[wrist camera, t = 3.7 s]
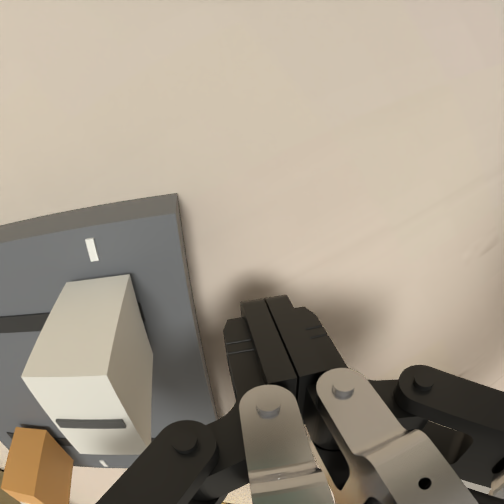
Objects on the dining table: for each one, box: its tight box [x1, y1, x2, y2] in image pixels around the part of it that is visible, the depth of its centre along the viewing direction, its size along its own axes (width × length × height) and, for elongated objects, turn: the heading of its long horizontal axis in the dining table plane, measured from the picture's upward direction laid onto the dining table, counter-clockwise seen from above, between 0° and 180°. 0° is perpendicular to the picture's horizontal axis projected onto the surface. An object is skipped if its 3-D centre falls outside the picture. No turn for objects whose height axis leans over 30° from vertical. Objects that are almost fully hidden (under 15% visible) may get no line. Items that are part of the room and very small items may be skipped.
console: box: [0, 193, 218, 468], centre depth 13 cm, size 16×16×3 cm
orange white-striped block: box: [1, 427, 74, 504], centre depth 11 cm, size 2×4×5 cm, turn 3°
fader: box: [21, 274, 153, 455], centre depth 8 cm, size 2×4×5 cm, turn 3°
